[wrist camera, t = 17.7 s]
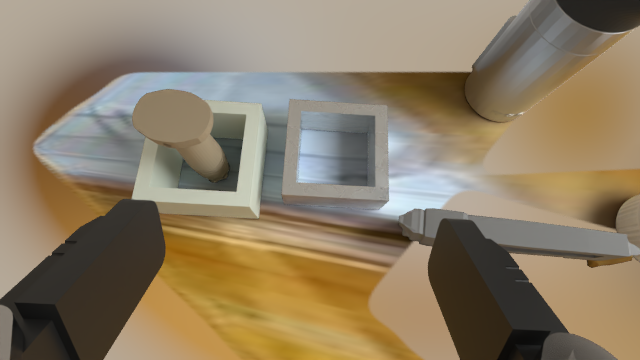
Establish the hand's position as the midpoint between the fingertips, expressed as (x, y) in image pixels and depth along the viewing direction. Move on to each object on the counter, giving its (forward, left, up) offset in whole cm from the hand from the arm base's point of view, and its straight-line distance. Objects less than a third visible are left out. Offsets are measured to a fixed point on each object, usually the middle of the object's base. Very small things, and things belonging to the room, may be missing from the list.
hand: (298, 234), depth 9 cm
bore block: (-14, +3, -31) cm, 34 cm away
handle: (-11, -12, -31) cm, 35 cm away
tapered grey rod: (-4, +24, -31) cm, 40 cm away
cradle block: (-12, -12, -31) cm, 35 cm away
